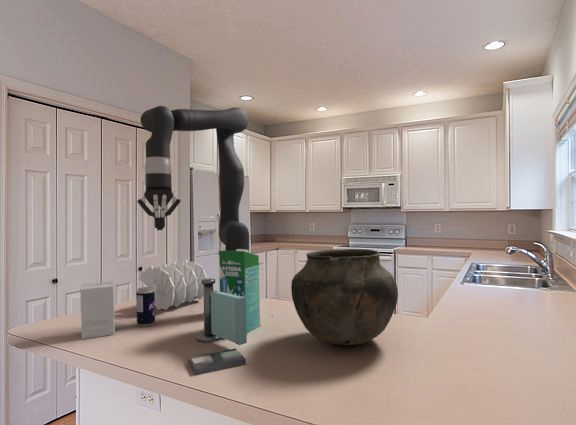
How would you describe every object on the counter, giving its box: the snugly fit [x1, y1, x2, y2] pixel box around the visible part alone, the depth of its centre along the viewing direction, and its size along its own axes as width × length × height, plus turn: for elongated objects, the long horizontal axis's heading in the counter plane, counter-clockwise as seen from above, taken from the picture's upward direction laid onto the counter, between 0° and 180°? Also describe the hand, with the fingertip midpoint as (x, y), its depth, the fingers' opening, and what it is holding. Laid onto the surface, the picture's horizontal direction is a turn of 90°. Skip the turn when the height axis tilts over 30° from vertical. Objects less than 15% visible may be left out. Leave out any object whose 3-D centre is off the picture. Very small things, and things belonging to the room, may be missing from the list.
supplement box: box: [79, 281, 116, 340], centre depth 113 cm, size 9×9×15 cm
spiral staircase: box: [138, 259, 209, 311], centre depth 147 cm, size 18×18×25 cm
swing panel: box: [211, 290, 248, 346], centre depth 100 cm, size 14×2×12 cm, turn 45°
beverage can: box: [135, 286, 156, 327], centre depth 121 cm, size 6×6×12 cm
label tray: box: [187, 348, 247, 376], centre depth 88 cm, size 12×8×2 cm, turn 117°
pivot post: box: [196, 277, 222, 343], centre depth 106 cm, size 7×7×17 cm
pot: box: [290, 248, 399, 346], centre depth 101 cm, size 29×32×25 cm
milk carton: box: [218, 249, 261, 334], centre depth 115 cm, size 9×9×25 cm
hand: (159, 229), depth 111 cm, fingers closed
